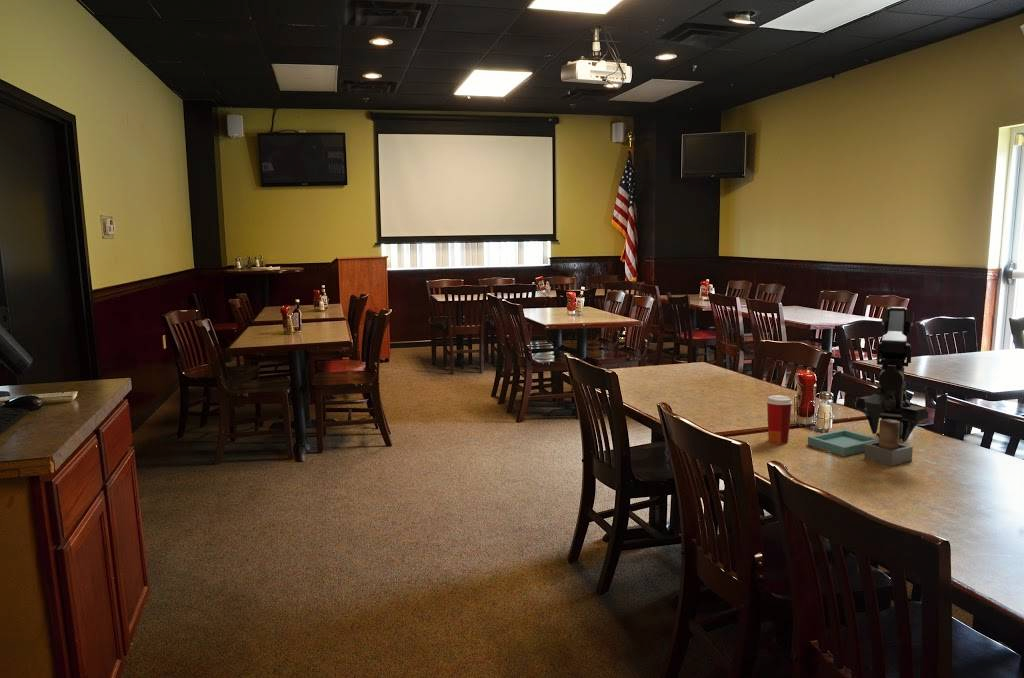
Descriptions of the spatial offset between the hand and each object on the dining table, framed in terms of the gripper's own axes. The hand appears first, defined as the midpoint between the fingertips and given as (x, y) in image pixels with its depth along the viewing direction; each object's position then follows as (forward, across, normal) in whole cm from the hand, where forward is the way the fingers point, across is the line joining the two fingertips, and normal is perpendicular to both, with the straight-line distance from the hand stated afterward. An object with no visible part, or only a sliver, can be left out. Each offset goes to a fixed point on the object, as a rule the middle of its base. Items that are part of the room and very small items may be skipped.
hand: (889, 437), depth 202 cm
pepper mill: (+6, 0, 0) cm, 6 cm away
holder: (+6, 0, 0) cm, 6 cm away
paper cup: (+6, -28, -13) cm, 32 cm away
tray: (+6, -14, 0) cm, 16 cm away
